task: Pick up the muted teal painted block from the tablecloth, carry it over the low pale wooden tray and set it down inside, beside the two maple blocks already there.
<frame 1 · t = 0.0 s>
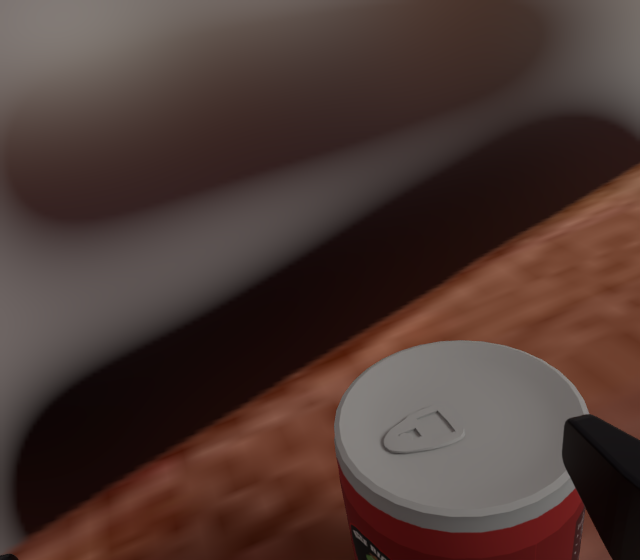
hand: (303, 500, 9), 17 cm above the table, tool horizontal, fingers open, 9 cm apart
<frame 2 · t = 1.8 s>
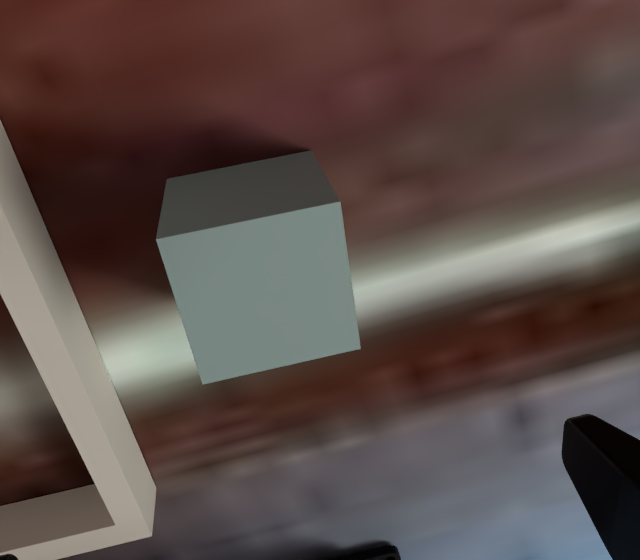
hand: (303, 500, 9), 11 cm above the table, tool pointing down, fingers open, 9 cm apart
block teal: (254, 229, 19), on the table
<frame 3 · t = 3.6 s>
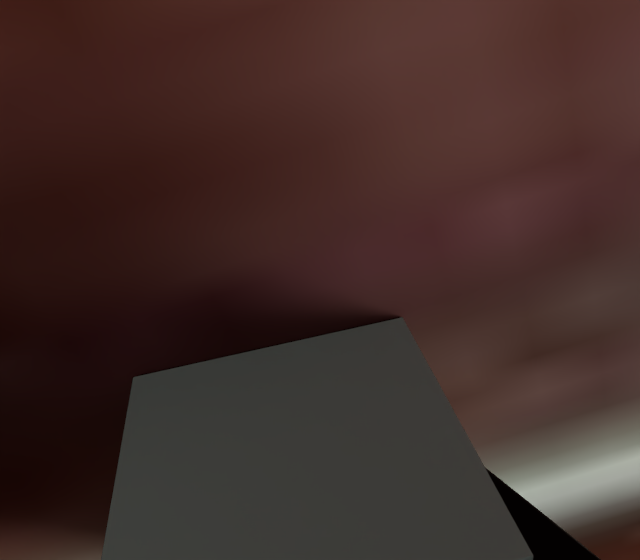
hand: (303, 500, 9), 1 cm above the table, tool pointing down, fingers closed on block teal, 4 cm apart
block teal: (293, 444, 10), on the table, touching gripper
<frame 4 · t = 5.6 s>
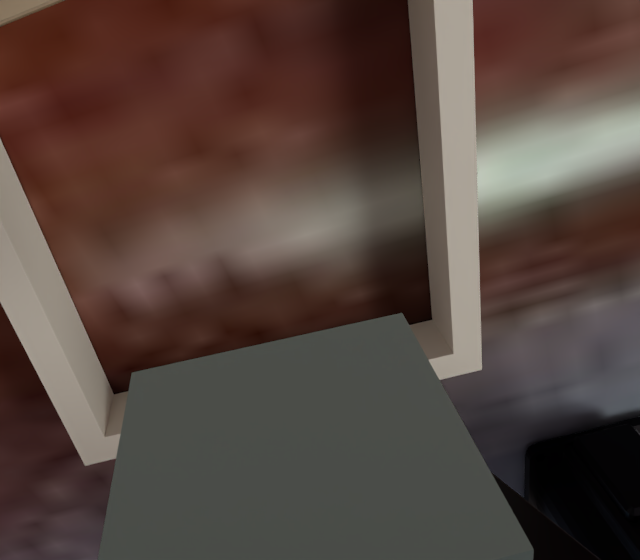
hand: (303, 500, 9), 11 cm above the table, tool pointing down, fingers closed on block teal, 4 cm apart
tray: (215, 113, 17), on the table
block teal: (292, 440, 10), point 10 cm above the table, touching gripper
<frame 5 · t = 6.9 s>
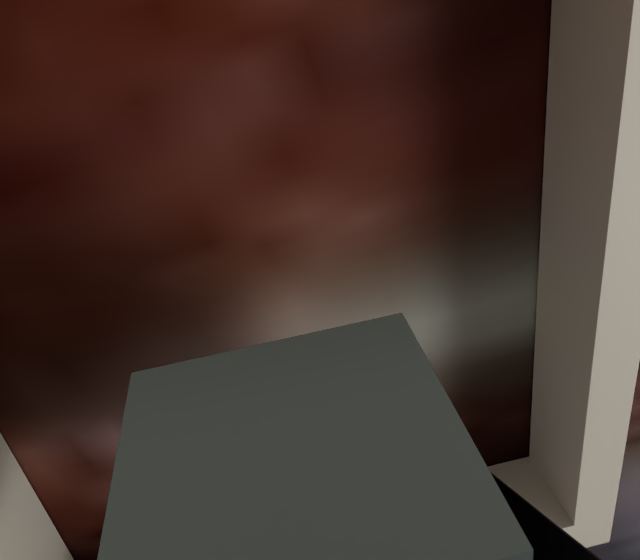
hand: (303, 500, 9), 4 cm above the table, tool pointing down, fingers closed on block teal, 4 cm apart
tray: (235, 186, 11), on the table
block teal: (292, 441, 10), point 3 cm above the table, touching gripper
when the fingers open (3 cm above the table, at t = 7.8 s): block teal drops 2 cm, resting in tray.
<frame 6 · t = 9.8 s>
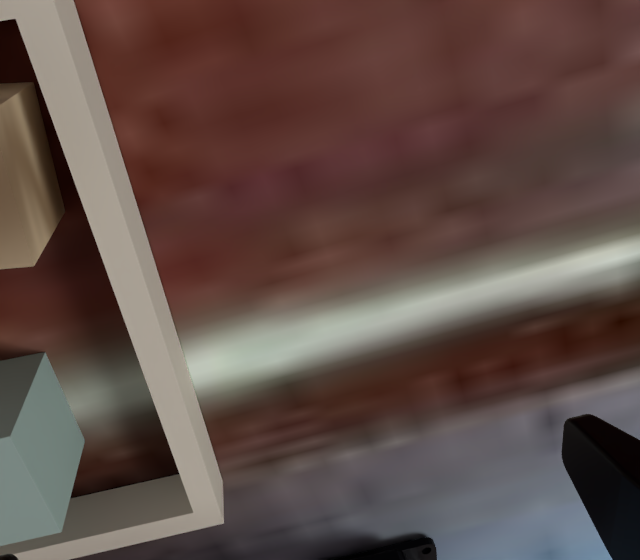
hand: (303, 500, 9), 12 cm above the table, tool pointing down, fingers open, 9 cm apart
block teal: (7, 409, 22), resting in tray
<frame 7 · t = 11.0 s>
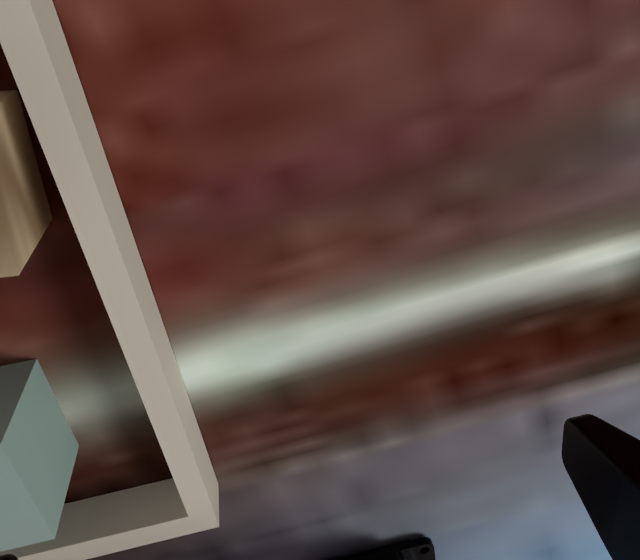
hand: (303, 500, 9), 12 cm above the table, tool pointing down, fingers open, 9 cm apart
block teal: (0, 415, 22), resting in tray
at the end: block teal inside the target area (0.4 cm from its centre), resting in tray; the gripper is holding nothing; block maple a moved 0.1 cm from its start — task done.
